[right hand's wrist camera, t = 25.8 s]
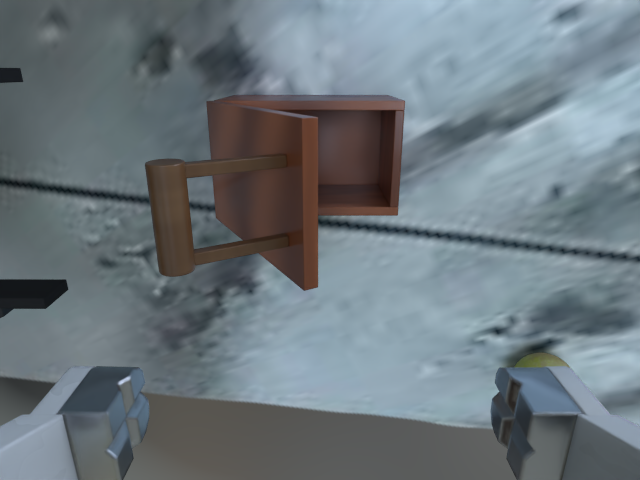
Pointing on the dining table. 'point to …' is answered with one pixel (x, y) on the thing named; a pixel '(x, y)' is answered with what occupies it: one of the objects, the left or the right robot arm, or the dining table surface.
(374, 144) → the chest
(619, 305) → the dining table surface
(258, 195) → the lid
